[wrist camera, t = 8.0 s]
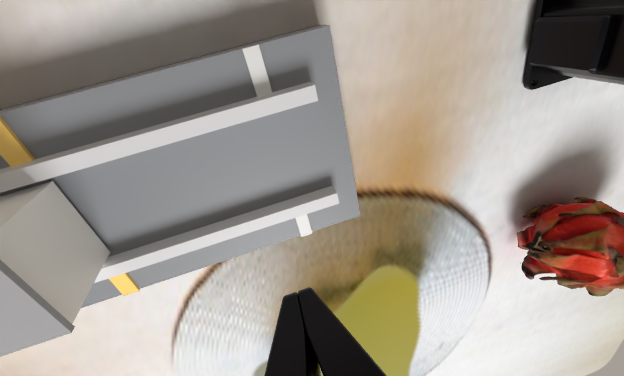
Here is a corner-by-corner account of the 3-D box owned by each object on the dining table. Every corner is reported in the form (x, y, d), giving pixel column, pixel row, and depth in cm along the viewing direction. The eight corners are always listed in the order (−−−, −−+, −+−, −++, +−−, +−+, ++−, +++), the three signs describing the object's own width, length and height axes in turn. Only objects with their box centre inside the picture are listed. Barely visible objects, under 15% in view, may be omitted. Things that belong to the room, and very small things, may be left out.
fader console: (319, 25, 16) (335, 25, 13) (350, 200, 22) (365, 223, 20) (-116, 140, 14) (-192, 166, 11) (54, 297, 20) (28, 336, 18)
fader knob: (53, 178, 15) (-26, 247, 10) (112, 252, 17) (71, 332, 13) (-14, 198, 14) (-126, 277, 10) (57, 270, 17) (-5, 358, 13)
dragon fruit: (570, 221, 33) (476, 208, 31) (667, 189, 25) (552, 168, 23) (600, 302, 29) (496, 293, 27) (724, 291, 22) (593, 278, 20)
